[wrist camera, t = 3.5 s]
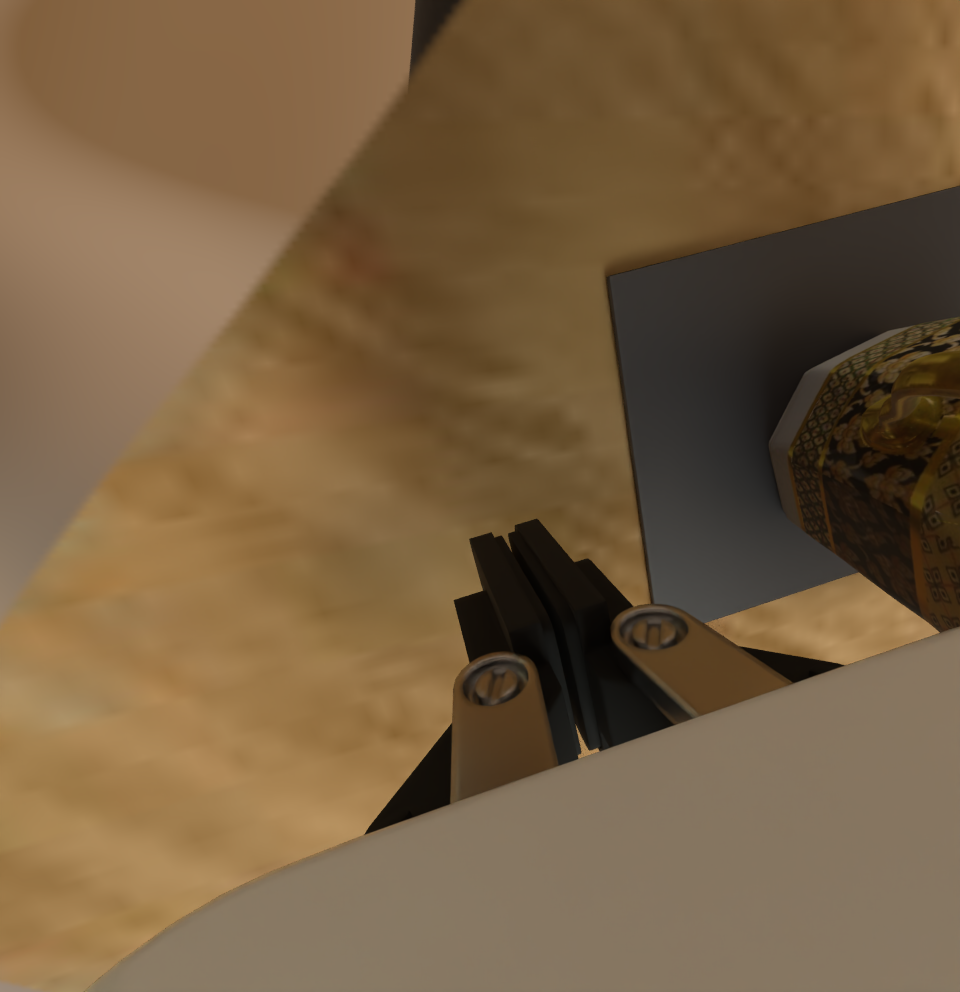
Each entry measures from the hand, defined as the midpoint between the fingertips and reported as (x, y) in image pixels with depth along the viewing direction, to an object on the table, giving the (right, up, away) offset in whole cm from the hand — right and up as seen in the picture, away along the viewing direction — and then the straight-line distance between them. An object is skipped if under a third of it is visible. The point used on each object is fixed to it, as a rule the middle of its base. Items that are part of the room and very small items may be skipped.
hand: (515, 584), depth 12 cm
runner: (+16, +6, +5) cm, 17 cm away
